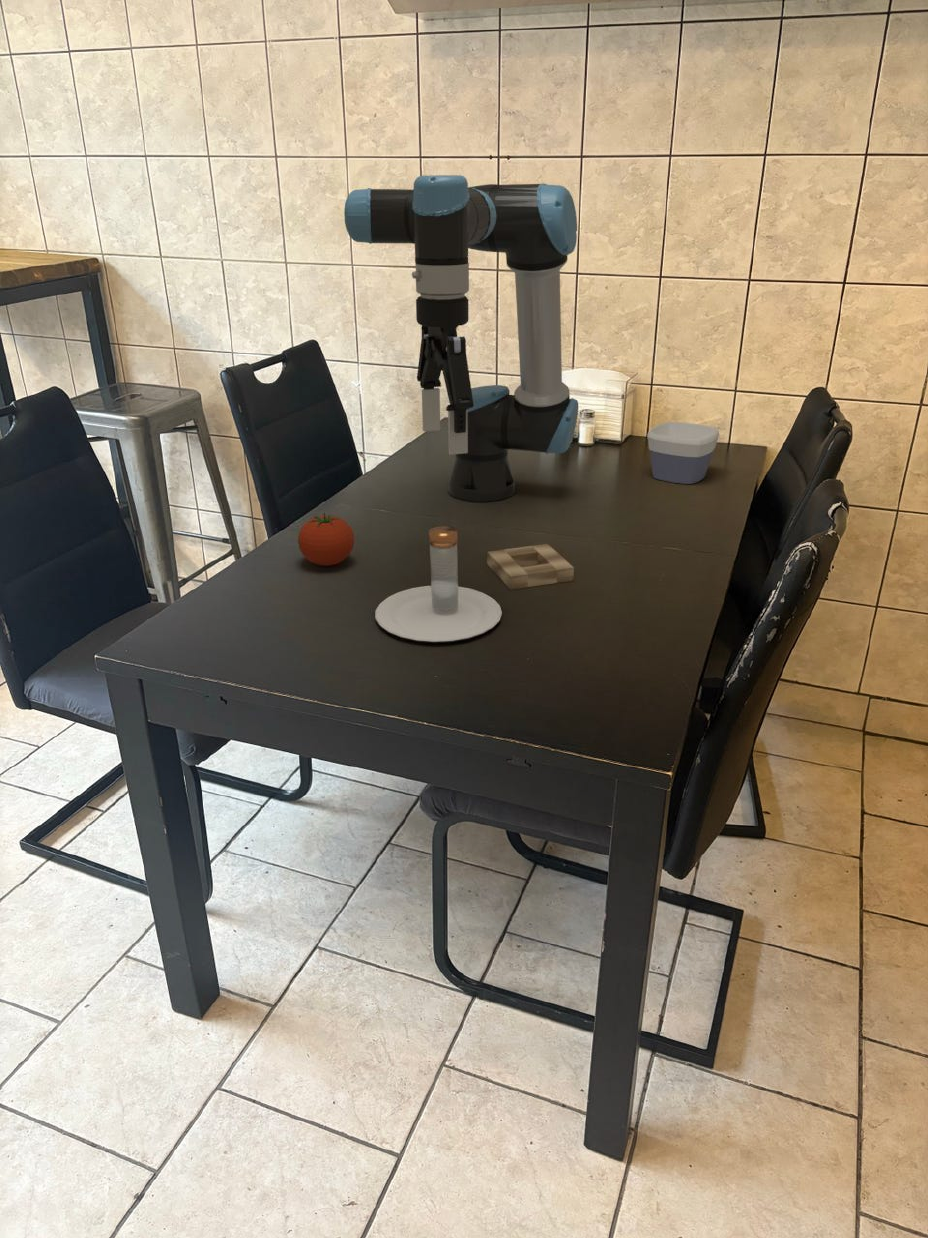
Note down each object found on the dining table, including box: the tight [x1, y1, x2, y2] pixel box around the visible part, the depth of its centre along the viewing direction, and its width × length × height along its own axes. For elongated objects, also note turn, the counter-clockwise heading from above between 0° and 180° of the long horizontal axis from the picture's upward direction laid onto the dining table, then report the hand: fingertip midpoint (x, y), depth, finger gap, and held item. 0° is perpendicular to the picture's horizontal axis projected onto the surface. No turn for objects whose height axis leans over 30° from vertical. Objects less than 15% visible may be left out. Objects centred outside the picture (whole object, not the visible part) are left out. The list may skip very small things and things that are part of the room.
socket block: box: [486, 543, 575, 590], centre depth 165 cm, size 12×12×2 cm
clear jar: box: [428, 525, 459, 611], centre depth 148 cm, size 4×4×13 cm
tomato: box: [297, 512, 355, 567], centre depth 168 cm, size 10×10×10 cm
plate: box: [374, 585, 503, 644], centre depth 150 cm, size 21×21×2 cm
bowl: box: [646, 421, 720, 485], centre depth 214 cm, size 15×15×11 cm
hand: (444, 441), depth 139 cm, fingers open, 13 cm apart
